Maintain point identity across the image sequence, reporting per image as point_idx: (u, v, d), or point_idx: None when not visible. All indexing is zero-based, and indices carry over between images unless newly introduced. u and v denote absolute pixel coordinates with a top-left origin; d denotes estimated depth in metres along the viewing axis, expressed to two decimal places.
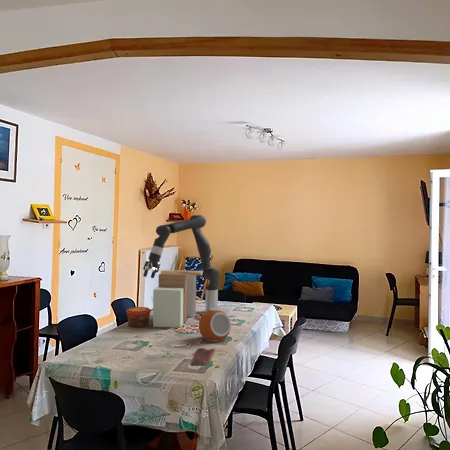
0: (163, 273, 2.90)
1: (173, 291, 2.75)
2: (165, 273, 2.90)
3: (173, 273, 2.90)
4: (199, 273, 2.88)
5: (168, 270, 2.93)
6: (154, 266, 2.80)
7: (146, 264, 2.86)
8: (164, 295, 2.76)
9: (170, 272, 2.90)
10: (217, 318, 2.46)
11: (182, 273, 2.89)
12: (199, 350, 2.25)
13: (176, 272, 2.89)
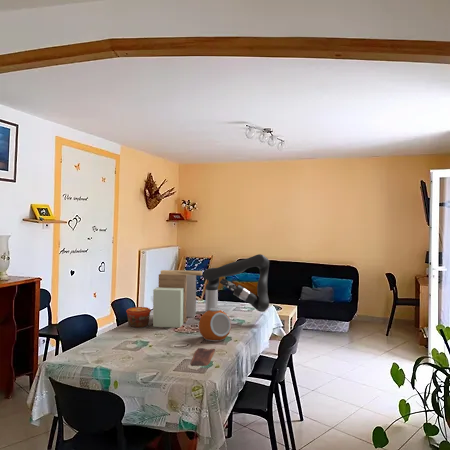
0: (163, 273, 2.90)
1: (173, 291, 2.75)
2: (165, 273, 2.90)
3: (173, 273, 2.90)
4: (199, 273, 2.88)
5: (168, 270, 2.93)
6: None
7: None
8: (164, 295, 2.76)
9: (170, 272, 2.90)
10: (217, 318, 2.46)
11: (182, 273, 2.89)
12: (199, 350, 2.25)
13: (176, 272, 2.89)
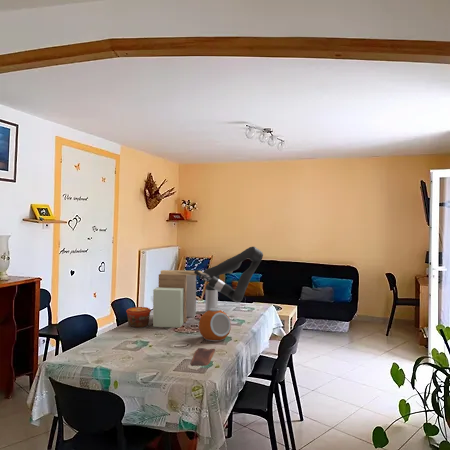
0: (163, 273, 2.90)
1: (173, 291, 2.75)
2: (165, 273, 2.90)
3: (173, 273, 2.90)
4: None
5: (168, 270, 2.93)
6: None
7: None
8: (164, 295, 2.76)
9: (170, 272, 2.90)
10: (217, 318, 2.46)
11: (182, 273, 2.89)
12: (199, 350, 2.25)
13: (176, 272, 2.89)
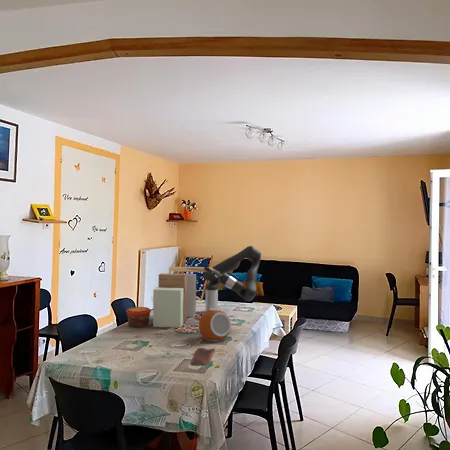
0: (172, 270, 2.77)
1: (173, 291, 2.75)
2: (174, 270, 2.77)
3: (182, 270, 2.77)
4: None
5: None
6: None
7: None
8: (164, 295, 2.76)
9: (179, 269, 2.77)
10: (217, 318, 2.46)
11: (191, 270, 2.76)
12: (199, 350, 2.25)
13: (185, 269, 2.76)
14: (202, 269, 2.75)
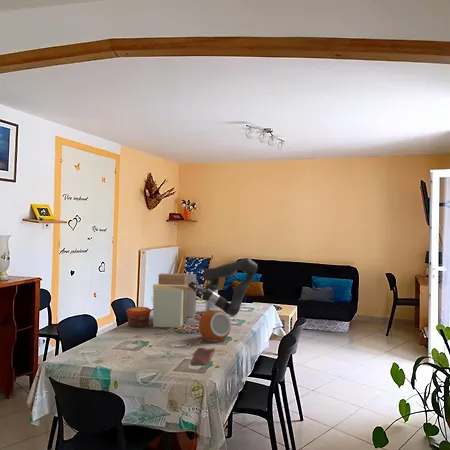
0: (156, 287, 2.79)
1: (173, 291, 2.75)
2: (158, 287, 2.78)
3: (166, 287, 2.78)
4: None
5: (161, 284, 2.81)
6: None
7: None
8: (164, 295, 2.76)
9: (163, 286, 2.78)
10: (217, 318, 2.46)
11: (175, 288, 2.77)
12: (199, 350, 2.25)
13: (169, 286, 2.78)
14: (186, 287, 2.77)
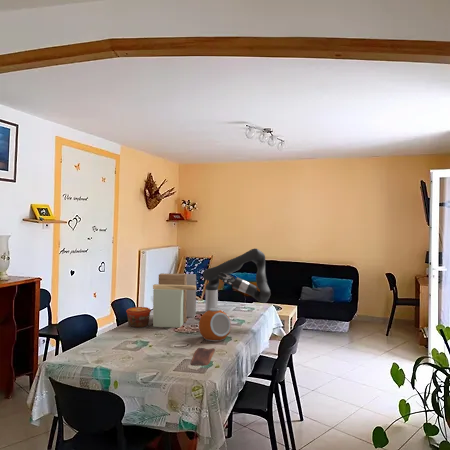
0: (156, 287, 2.79)
1: (173, 291, 2.75)
2: (158, 287, 2.78)
3: (166, 287, 2.78)
4: (193, 288, 2.76)
5: (161, 284, 2.81)
6: None
7: None
8: (164, 295, 2.76)
9: (163, 286, 2.78)
10: (217, 318, 2.46)
11: (175, 288, 2.77)
12: (199, 350, 2.25)
13: (169, 286, 2.78)
14: (186, 287, 2.77)
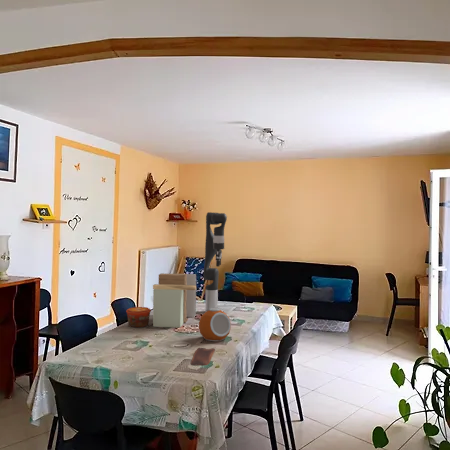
0: (156, 287, 2.79)
1: (173, 291, 2.75)
2: (158, 287, 2.78)
3: (166, 287, 2.78)
4: (193, 288, 2.76)
5: (161, 284, 2.81)
6: None
7: None
8: (164, 295, 2.76)
9: (163, 286, 2.78)
10: (217, 318, 2.46)
11: (175, 288, 2.77)
12: (199, 350, 2.26)
13: (169, 286, 2.78)
14: (186, 287, 2.77)
